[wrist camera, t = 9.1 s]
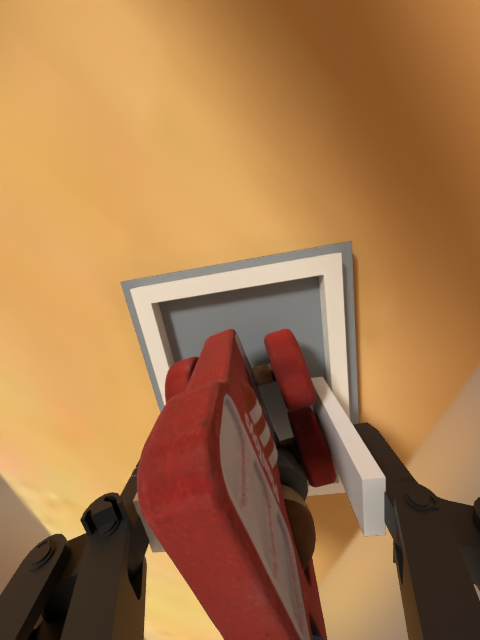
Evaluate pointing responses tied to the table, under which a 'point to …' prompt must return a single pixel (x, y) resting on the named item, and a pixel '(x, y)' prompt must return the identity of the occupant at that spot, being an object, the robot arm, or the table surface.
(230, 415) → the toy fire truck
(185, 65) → the table surface
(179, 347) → the base board
